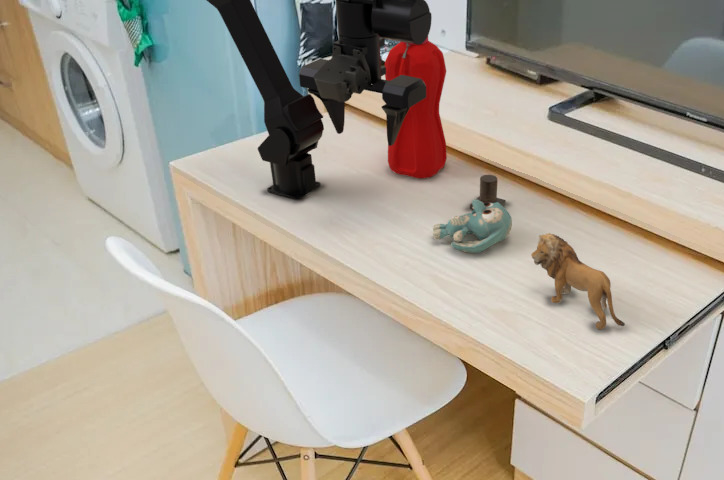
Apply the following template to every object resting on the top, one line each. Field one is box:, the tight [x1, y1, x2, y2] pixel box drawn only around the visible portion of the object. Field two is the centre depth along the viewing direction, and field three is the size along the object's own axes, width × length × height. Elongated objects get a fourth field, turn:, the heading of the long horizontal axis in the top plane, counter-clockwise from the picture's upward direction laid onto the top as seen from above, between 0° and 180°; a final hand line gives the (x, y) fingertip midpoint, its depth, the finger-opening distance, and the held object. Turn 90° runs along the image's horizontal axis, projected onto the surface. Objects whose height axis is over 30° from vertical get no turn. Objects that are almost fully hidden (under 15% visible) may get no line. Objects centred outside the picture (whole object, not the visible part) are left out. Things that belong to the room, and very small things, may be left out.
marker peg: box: [469, 174, 507, 211], centre depth 128 cm, size 4×4×5 cm
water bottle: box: [384, 36, 448, 180], centre depth 132 cm, size 9×11×25 cm
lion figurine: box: [530, 232, 626, 330], centre depth 103 cm, size 15×5×9 cm, turn 50°
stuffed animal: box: [432, 198, 513, 254], centre depth 118 cm, size 11×7×12 cm
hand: (365, 138), depth 120 cm, fingers open, 9 cm apart
